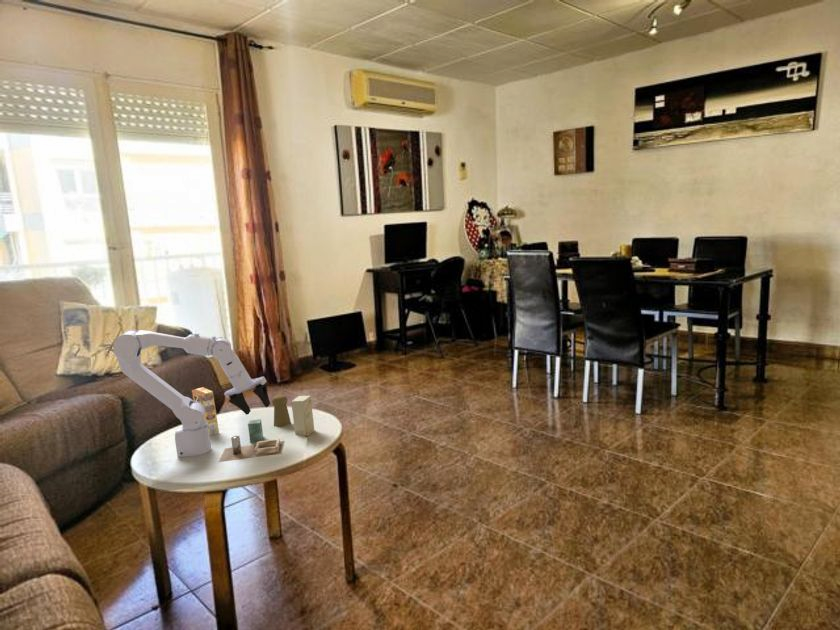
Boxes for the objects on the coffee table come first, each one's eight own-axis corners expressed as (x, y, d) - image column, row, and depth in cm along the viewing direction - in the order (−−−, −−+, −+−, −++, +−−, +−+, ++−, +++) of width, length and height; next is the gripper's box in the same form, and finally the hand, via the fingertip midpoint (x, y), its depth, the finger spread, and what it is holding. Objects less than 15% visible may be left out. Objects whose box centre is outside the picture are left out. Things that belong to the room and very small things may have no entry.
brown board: (219, 464, 158) (217, 456, 158) (225, 451, 168) (224, 443, 168) (282, 456, 161) (281, 448, 161) (284, 443, 171) (283, 436, 170)
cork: (286, 421, 191) (282, 391, 190) (294, 425, 187) (291, 395, 185) (270, 426, 187) (266, 396, 186) (278, 430, 183) (275, 399, 181)
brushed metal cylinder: (232, 455, 162) (230, 439, 162) (233, 451, 165) (231, 436, 164) (240, 453, 163) (238, 438, 162) (242, 450, 165) (240, 435, 164)
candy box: (219, 434, 183) (214, 390, 181) (207, 438, 181) (201, 394, 178) (209, 428, 190) (203, 386, 187) (197, 432, 187) (191, 389, 185)
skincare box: (307, 437, 175) (303, 401, 173) (294, 437, 176) (290, 401, 174) (314, 430, 181) (311, 395, 179) (302, 430, 182) (298, 395, 180)
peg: (250, 445, 172) (247, 424, 171) (252, 441, 175) (249, 420, 174) (262, 443, 172) (259, 422, 171) (263, 439, 176) (261, 419, 175)
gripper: (260, 360, 170) (282, 395, 173) (224, 375, 174) (245, 409, 177) (251, 369, 163) (273, 406, 167) (213, 385, 167) (235, 421, 171)
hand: (258, 409), depth 172 cm, fingers open, 7 cm apart
